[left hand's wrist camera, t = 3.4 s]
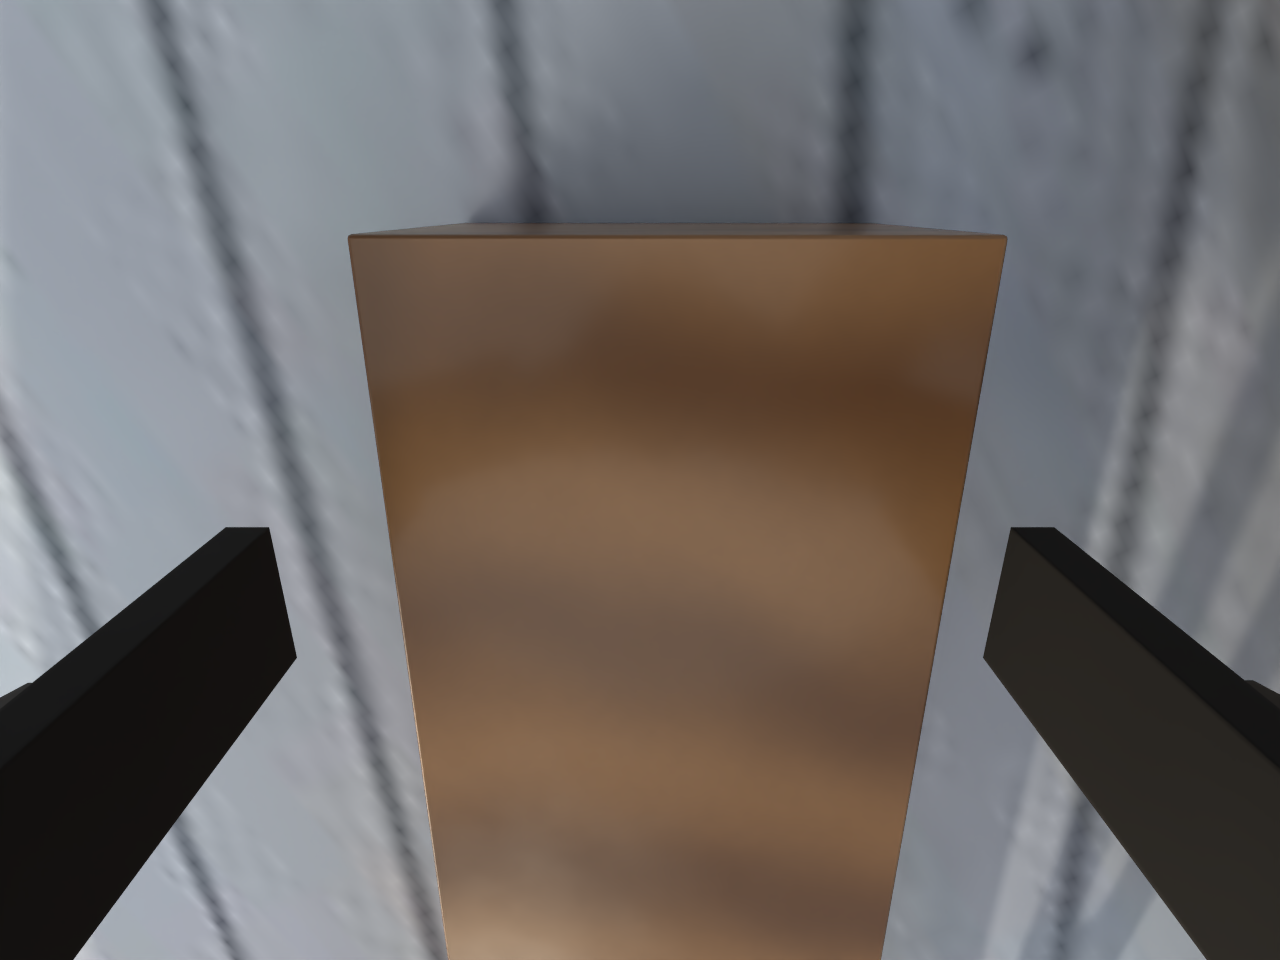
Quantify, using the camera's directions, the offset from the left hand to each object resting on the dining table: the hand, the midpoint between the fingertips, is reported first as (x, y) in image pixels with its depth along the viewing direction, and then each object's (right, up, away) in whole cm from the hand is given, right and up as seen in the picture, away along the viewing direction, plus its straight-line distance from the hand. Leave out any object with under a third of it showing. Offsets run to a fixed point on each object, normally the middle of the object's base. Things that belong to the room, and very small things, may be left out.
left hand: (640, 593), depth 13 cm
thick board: (+1, -26, +18) cm, 32 cm away
